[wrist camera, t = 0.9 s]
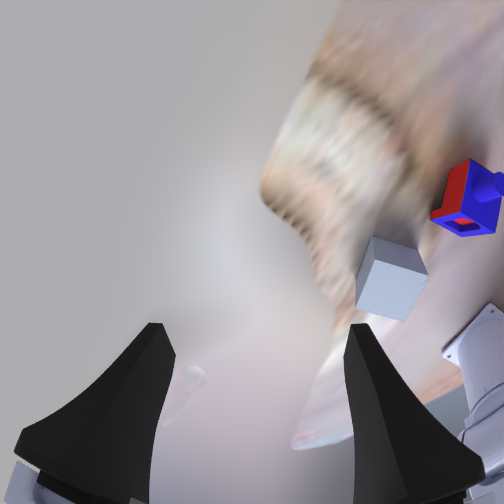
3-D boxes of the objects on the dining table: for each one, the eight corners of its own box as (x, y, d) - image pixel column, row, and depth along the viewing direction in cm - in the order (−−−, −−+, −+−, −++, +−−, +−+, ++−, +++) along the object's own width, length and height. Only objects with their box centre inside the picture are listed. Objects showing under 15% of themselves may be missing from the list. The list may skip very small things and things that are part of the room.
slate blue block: (417, 250, 23) (428, 275, 19) (399, 292, 25) (404, 322, 21) (371, 235, 24) (374, 259, 20) (355, 279, 26) (355, 308, 22)
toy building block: (471, 193, 20) (525, 173, 12) (461, 237, 20) (517, 231, 12) (441, 175, 21) (490, 146, 13) (429, 220, 21) (481, 206, 13)
